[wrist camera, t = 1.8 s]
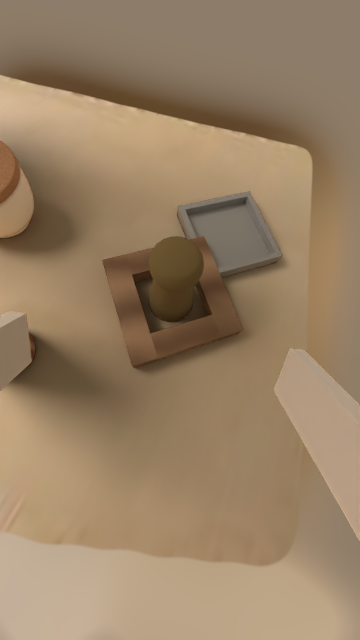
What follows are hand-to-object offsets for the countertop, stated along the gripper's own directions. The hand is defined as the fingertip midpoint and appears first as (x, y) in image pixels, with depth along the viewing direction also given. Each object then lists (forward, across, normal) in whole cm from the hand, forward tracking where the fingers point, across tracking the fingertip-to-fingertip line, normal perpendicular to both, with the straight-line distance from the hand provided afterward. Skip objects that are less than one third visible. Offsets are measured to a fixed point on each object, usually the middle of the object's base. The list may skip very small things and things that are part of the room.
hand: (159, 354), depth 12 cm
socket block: (+19, 0, -3) cm, 19 cm away
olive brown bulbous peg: (+19, 0, -3) cm, 19 cm away
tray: (+26, +7, +5) cm, 28 cm away
